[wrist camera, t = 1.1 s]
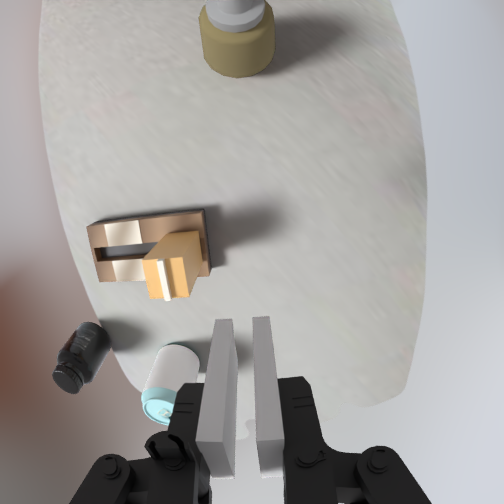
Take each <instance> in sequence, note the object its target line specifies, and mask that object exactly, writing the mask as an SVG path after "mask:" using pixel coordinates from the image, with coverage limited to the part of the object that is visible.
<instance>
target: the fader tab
mask: <svg viewBox="0 0 504 504" xmlns="http://www.w3.org/2000/svg"><path fill="white" fill-rule="evenodd" d="M202 263H203V260H202V253H201V246H200V238H199V231H189V232H178V233H167V234H166V235H165V236H164V237H163V238H162V239H161V240H160V241H159V242H158V243H157V244H156V245H155V246H154V247H153V248H152V249H151V251H150V252H149V253H148V254H147V255H146V256H145V257H144V258H143V259H142V265H143V270H144V274H145V279H146V283H147V287H148V292H149V296H150V299H155V298H164V300H165V301H171V299H172V298H180V297H190V294H191V291H192V289H193V286H194V284H195V281H196V278H197V276H198V273H199V271H200V268H201V266H202Z"/></svg>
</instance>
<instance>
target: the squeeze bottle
mask: <svg viewBox="0 0 504 504" xmlns="http://www.w3.org/2000/svg"><path fill="white" fill-rule="evenodd" d="M199 24H200V31H201V39H202V46H203V52H204V59H205V60H206V62H207V63H208V64H209V66H210V67H211V69H213V70H214V71H216V72H218V73H220V74H221V75H223V76H228V77H234V78H242V77H248V76H253V75H254V74H256V73H258V72H260V71H262V70H264V69H265V68H266V67H267V65H268V64H269V63H270V62H271V61H272V59H273V55H274V52H275V24H274V15H273V11H272V7H271V6H270V5H269V4H268V3H267V2H266V1H265V0H207V2H206V4H205V6H204V7H203V8H202V10H201V13H200V16H199Z"/></svg>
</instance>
